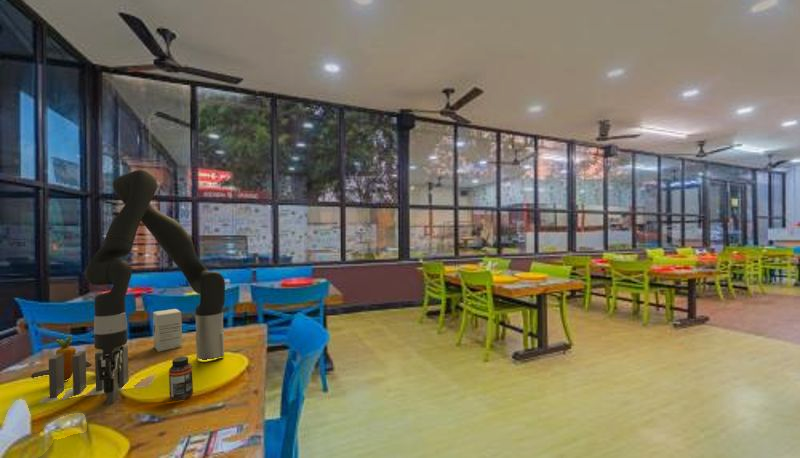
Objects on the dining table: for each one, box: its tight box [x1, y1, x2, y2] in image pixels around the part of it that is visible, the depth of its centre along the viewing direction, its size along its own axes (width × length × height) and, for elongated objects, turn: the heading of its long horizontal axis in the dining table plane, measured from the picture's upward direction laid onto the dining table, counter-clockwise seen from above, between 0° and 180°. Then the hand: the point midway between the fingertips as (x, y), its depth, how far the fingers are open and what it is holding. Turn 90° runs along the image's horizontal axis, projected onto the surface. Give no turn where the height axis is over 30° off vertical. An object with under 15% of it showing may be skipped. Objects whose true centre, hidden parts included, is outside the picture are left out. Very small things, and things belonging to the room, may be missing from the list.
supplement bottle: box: [168, 355, 194, 401], centre depth 110 cm, size 6×6×11 cm
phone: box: [31, 360, 92, 378], centre depth 133 cm, size 7×1×15 cm
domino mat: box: [38, 374, 157, 404], centre depth 117 cm, size 27×10×1 cm, turn 112°
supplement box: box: [152, 308, 183, 353], centre depth 158 cm, size 9×9×15 cm
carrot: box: [55, 334, 77, 380], centre depth 123 cm, size 5×5×15 cm
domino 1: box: [72, 350, 87, 395], centre depth 114 cm, size 2×5×12 cm, turn 22°
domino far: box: [48, 353, 65, 398], centre depth 112 cm, size 2×5×12 cm, turn 23°
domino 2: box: [94, 349, 104, 391], centre depth 117 cm, size 2×5×12 cm, turn 22°
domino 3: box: [105, 364, 120, 405], centre depth 108 cm, size 2×5×12 cm, turn 22°
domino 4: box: [119, 345, 130, 388], centre depth 119 cm, size 2×5×12 cm, turn 22°
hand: (112, 388), depth 108 cm, fingers closed on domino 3, 5 cm apart
